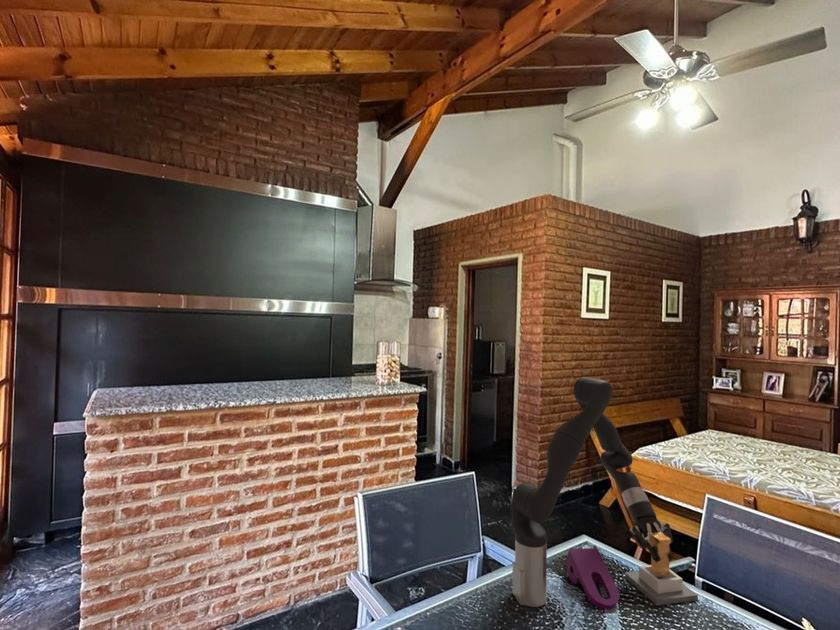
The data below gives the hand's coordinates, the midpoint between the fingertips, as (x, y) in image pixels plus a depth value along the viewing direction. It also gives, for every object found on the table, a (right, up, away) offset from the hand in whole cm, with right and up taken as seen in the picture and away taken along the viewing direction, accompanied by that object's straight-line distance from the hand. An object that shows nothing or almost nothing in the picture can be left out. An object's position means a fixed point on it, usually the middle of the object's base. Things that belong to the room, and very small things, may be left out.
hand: (664, 560), depth 134 cm
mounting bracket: (-22, -10, 0) cm, 24 cm away
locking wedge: (0, -5, +2) cm, 5 cm away
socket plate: (0, -10, +2) cm, 10 cm away
